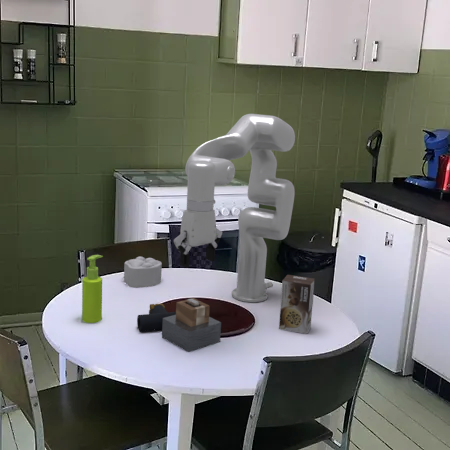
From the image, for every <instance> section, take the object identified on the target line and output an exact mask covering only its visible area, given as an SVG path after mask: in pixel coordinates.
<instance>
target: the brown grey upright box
mask: <svg viewBox="0 0 450 450" xmlns="http://www.w3.org/2000/svg"><path fill="white" fill-rule="evenodd" d="M281 281H282V282H281V295H280V297H281V298H280V310H279V311H280V312H279V321H278V322H279V323H278V325H279V326H278V330H281V331H282V330H283V331H288V332H293V333H300V334H306V335H307V334H308V333H309V331H310V329H311V328H312V318H313V317H312V314H313V306H314V304H313V303H314V291H315V281H316V279H315V278H312V277H305V276H300V275H292V274H287V275H286V276H285V277H283V279H282V280H281Z"/></svg>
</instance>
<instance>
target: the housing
mask: <svg viewBox="0 0 450 450" xmlns="http://www.w3.org/2000/svg"><path fill="white" fill-rule="evenodd" d="M186 300H187V304H188V305H190V306H192V307H194V308H195V307H199V302H198V301H196V300H193V299H192V298H188V299H186ZM221 329H222V322H221V321H219V320H217V319H215V318H213V317H211V316H209V322H207V323H203V324H200V325H196V326H193V327H191V326H189V325H187V324H185V323H183V322H181V321H179V320H177V319H176V315H173V316H169V317H165V318H163V324H162V330H161V338H162V339H164V340H166V341H167V342H169V343H171V344H172V345H175V346H177V347H179V348H180V349H182V350H184V351H185V352H186V353H189V352H193V351H196V350H198V349H202V348H205V347H208V346H211V345H213V344H217V343H220V342H221V332H222V330H221Z"/></svg>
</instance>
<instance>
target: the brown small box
mask: <svg viewBox="0 0 450 450" xmlns="http://www.w3.org/2000/svg"><path fill="white" fill-rule="evenodd" d="M191 299H193V300H196V301H198V302H199V307H195V308H194V307H192V306H190V305H188V304H187V299H185V300H181V301H176V302H175V303H176V304H175V312H176V319H177V320H179V321H181V322H183V323H185V324H187V325H189V326H191V327H193V326H196V325H200V324H203V323H207V322H209V317H210V305H209V304H207V303H205V302H203V301H200V300H198V299H197V298H195V297H192V298H191Z"/></svg>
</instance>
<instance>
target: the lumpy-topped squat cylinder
mask: <svg viewBox="0 0 450 450" xmlns="http://www.w3.org/2000/svg"><path fill="white" fill-rule="evenodd" d="M123 267H124V268H123V269H124V270H123V272H124V274H123V282H124V283H125V284H126V285H127V286H128V287H129V288H132V289H134V288H135V289H138V288H150V287H151V288H152V287H155V286H158V285H160V284H161V283H162V271H163V269H162V261H160V260H158V259H157V260H156V259H155V258H152V257H147V258H145V257H143V256H137V257H135V258H133V259H132V258H131V259H128V260H126V261H125V262H124V266H123Z"/></svg>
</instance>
